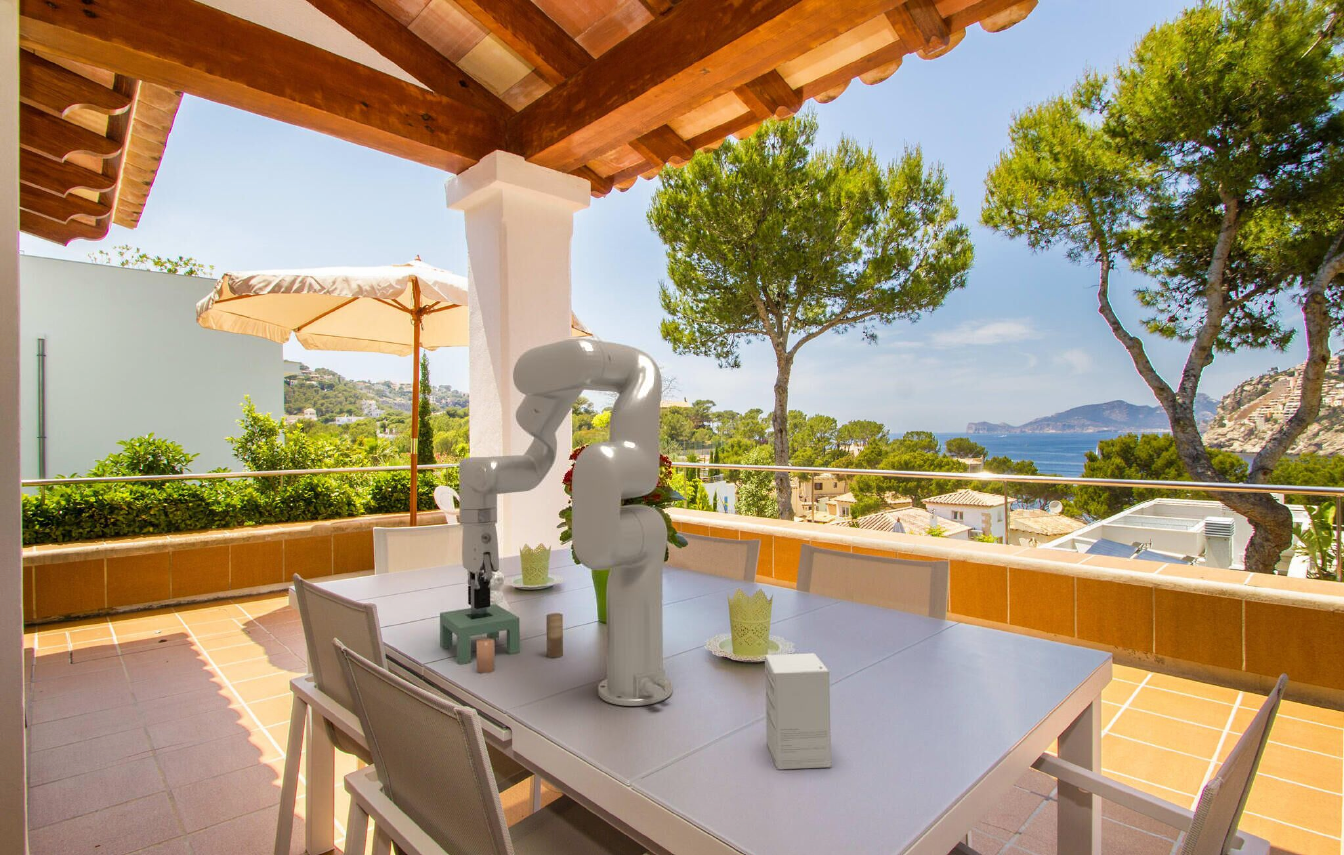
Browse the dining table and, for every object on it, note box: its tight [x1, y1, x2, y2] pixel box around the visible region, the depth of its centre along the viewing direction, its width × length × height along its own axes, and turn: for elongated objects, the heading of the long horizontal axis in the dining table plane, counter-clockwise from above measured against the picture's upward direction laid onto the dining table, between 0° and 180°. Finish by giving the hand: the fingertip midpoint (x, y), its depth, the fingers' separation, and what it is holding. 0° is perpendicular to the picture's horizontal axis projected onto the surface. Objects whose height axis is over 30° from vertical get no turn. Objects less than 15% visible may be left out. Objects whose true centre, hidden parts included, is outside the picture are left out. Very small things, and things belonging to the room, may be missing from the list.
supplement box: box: [764, 652, 832, 770], centre depth 88 cm, size 7×7×13 cm
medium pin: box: [545, 612, 564, 659], centre depth 131 cm, size 3×3×8 cm
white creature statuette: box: [490, 570, 511, 613], centre depth 158 cm, size 10×9×12 cm
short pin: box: [476, 637, 496, 674], centre depth 123 cm, size 3×3×6 cm
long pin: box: [470, 578, 487, 620], centre depth 135 cm, size 3×3×11 cm
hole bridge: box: [439, 604, 521, 666], centre depth 135 cm, size 14×12×7 cm
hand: (479, 604), depth 135 cm, fingers closed on long pin, 3 cm apart
